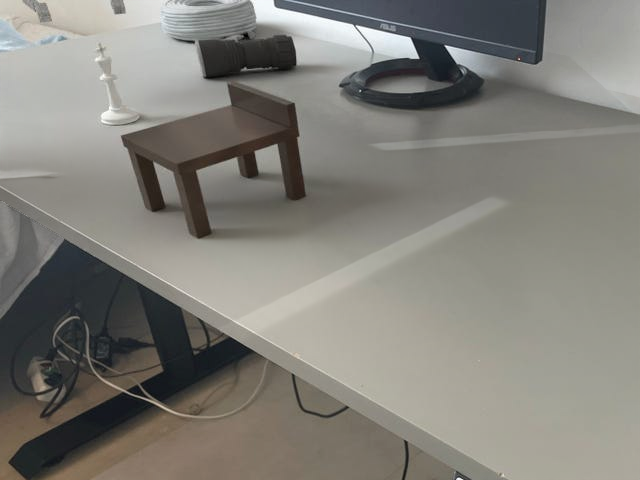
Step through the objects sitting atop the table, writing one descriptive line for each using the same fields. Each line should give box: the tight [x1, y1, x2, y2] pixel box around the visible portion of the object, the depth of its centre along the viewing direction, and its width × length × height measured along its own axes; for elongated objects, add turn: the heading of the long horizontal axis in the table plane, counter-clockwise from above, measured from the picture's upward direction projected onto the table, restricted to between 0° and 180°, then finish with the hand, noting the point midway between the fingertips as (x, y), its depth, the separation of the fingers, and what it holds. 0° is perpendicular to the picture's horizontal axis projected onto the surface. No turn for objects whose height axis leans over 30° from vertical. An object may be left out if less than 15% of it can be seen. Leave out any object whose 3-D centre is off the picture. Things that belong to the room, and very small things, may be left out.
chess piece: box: [93, 42, 140, 126], centre depth 97 cm, size 5×5×10 cm
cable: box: [160, 0, 257, 43], centre depth 136 cm, size 18×18×6 cm
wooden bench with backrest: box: [120, 80, 307, 239], centre depth 76 cm, size 14×11×10 cm
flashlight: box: [194, 34, 298, 78], centre depth 116 cm, size 15×5×5 cm, turn 113°
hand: (83, 15), depth 98 cm, fingers open, 8 cm apart
